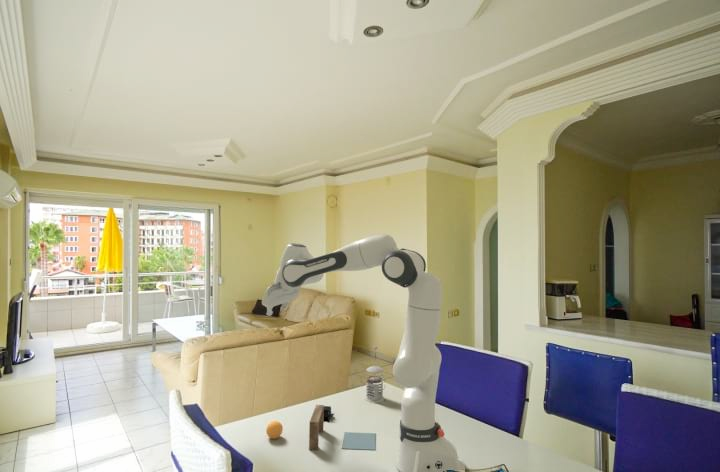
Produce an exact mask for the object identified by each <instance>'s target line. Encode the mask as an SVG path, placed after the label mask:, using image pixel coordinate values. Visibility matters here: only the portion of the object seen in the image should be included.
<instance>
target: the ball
mask: <svg viewBox="0 0 720 472" xmlns="http://www.w3.org/2000/svg"><path fill="white" fill-rule="evenodd" d="M265 431H266V435H267V437H269V438H270V439H278V438H279V437H281V435H282V434H283V431H284V430H283V425H282V423H281V422H280V421H279V420H272V421H271V422H269V423H268V424H267V427H266V430H265Z"/></svg>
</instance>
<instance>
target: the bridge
mask: <svg viewBox="0 0 720 472" xmlns="http://www.w3.org/2000/svg"><path fill="white" fill-rule="evenodd" d="M324 406H325V405H324V404H316V405H315V408H314V409H313V412H312V415H311V416H310V417H311V418H310V420H309V427H308V428H309V429H308V430H309V432H308V433H309V434H308V436H309V437H308V440H309V441H308V443H309V444H308V450H309V451H318V449H319V433H323V432H324Z"/></svg>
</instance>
